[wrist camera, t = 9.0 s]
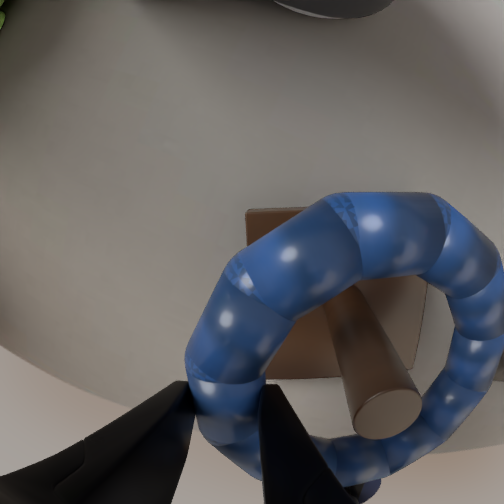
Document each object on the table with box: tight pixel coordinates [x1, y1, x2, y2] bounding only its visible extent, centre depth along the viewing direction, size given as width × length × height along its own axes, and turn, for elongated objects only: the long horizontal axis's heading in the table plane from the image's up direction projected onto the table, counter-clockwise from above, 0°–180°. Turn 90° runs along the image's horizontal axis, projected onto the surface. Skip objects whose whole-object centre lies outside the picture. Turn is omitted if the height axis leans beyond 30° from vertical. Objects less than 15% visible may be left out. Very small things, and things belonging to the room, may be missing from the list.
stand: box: [245, 207, 428, 440], centre depth 10 cm, size 8×8×8 cm
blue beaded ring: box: [185, 192, 504, 487], centre depth 8 cm, size 10×10×2 cm
